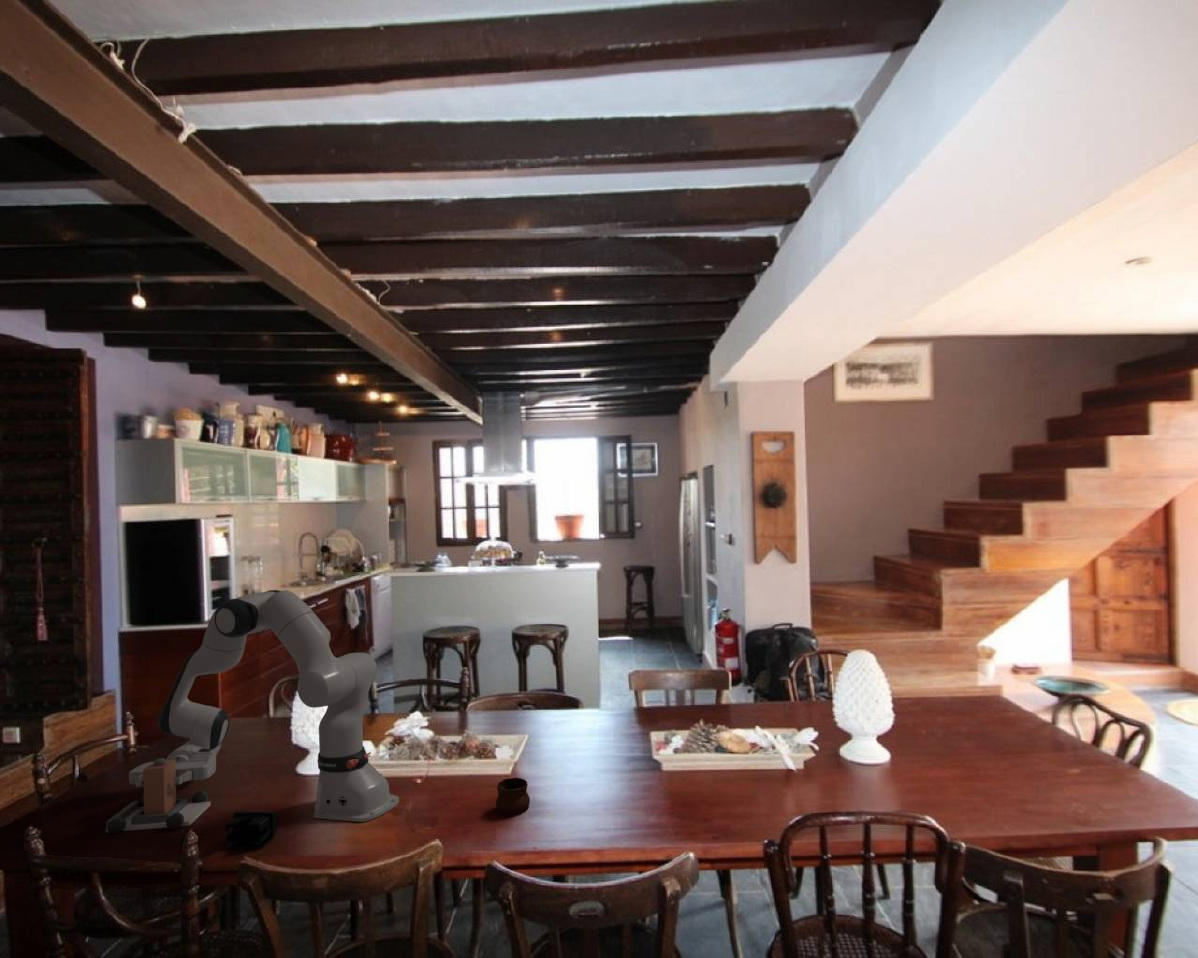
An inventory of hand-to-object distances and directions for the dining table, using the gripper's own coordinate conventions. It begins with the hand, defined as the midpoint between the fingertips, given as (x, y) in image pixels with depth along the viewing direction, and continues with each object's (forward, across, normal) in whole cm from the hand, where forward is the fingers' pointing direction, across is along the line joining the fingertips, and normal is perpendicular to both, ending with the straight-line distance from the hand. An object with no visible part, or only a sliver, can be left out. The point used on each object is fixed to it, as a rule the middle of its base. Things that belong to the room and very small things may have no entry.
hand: (157, 783), depth 182 cm
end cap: (+17, +30, +10) cm, 36 cm away
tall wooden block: (-1, 0, +8) cm, 9 cm away
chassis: (-1, 0, +10) cm, 10 cm away
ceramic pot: (+11, +93, +10) cm, 94 cm away
